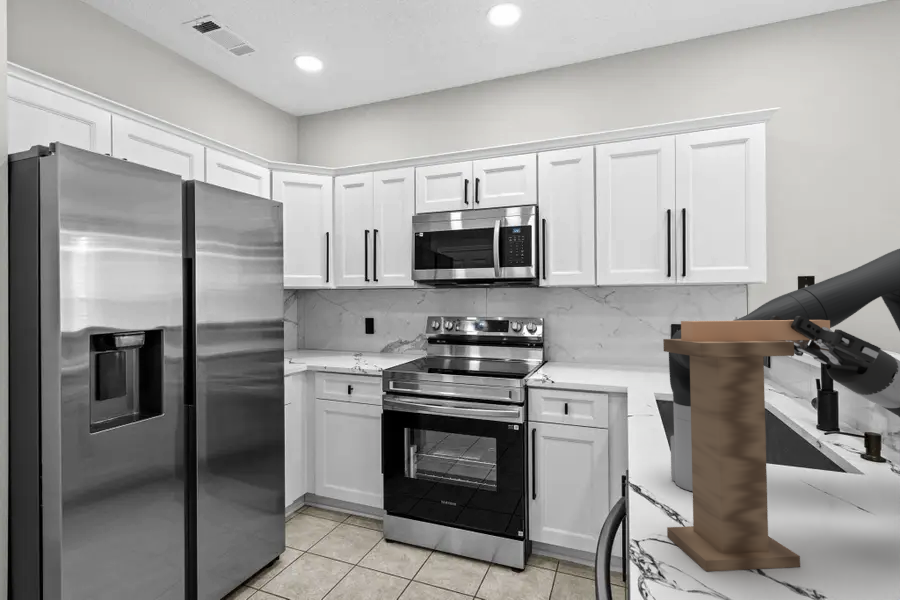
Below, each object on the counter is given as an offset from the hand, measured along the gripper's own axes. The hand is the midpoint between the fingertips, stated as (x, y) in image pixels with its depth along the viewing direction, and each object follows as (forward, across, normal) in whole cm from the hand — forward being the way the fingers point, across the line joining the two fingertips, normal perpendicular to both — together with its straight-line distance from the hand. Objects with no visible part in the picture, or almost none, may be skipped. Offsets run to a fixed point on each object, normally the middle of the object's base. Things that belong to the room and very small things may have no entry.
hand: (783, 321), depth 71 cm
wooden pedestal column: (-9, 0, +35) cm, 36 cm away
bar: (+3, 0, +5) cm, 5 cm away
